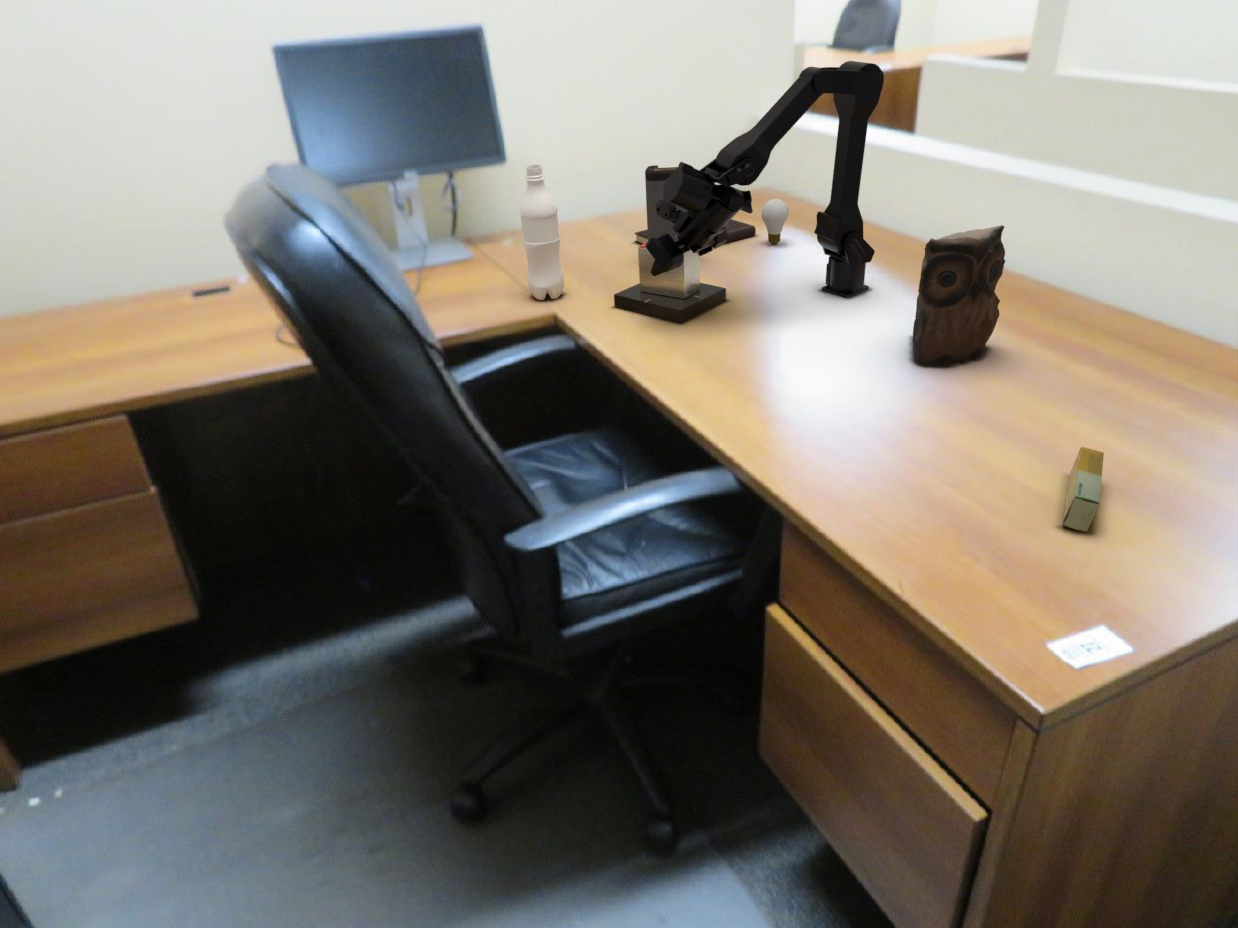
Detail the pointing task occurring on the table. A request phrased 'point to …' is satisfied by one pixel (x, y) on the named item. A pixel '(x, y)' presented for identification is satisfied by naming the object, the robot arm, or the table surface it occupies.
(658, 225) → the electronic device
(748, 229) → the hardcover book
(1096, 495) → the medication box
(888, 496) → the table surface
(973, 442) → the table surface
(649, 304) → the dial plate
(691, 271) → the brushed aluminum block
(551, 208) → the water bottle
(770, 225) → the light bulb
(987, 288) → the owl
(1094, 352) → the table surface
